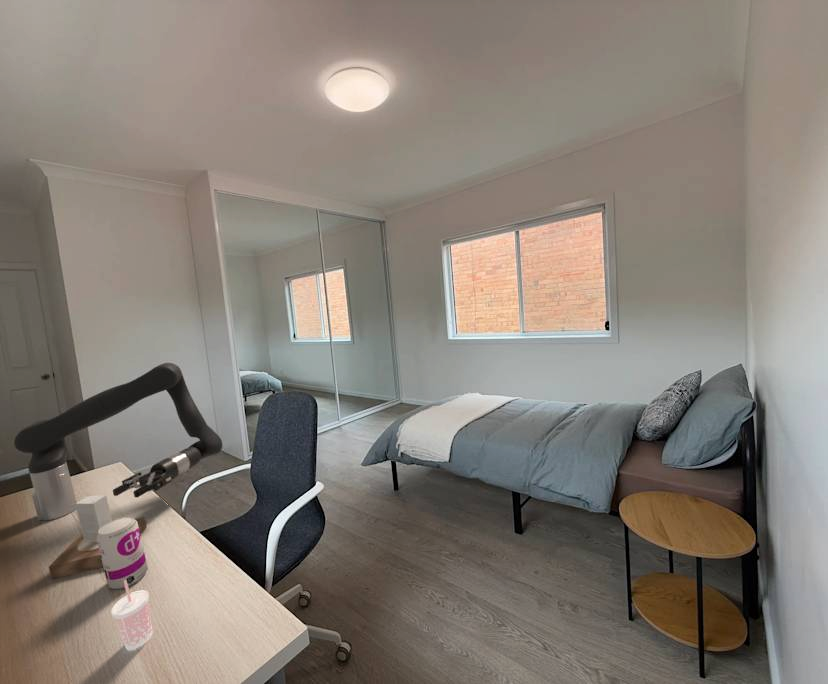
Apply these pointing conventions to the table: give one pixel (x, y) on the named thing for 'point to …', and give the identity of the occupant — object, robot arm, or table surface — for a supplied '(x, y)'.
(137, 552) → the supplement can
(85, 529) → the skincare box
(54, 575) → the block
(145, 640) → the beverage cup
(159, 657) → the table surface
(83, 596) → the table surface
